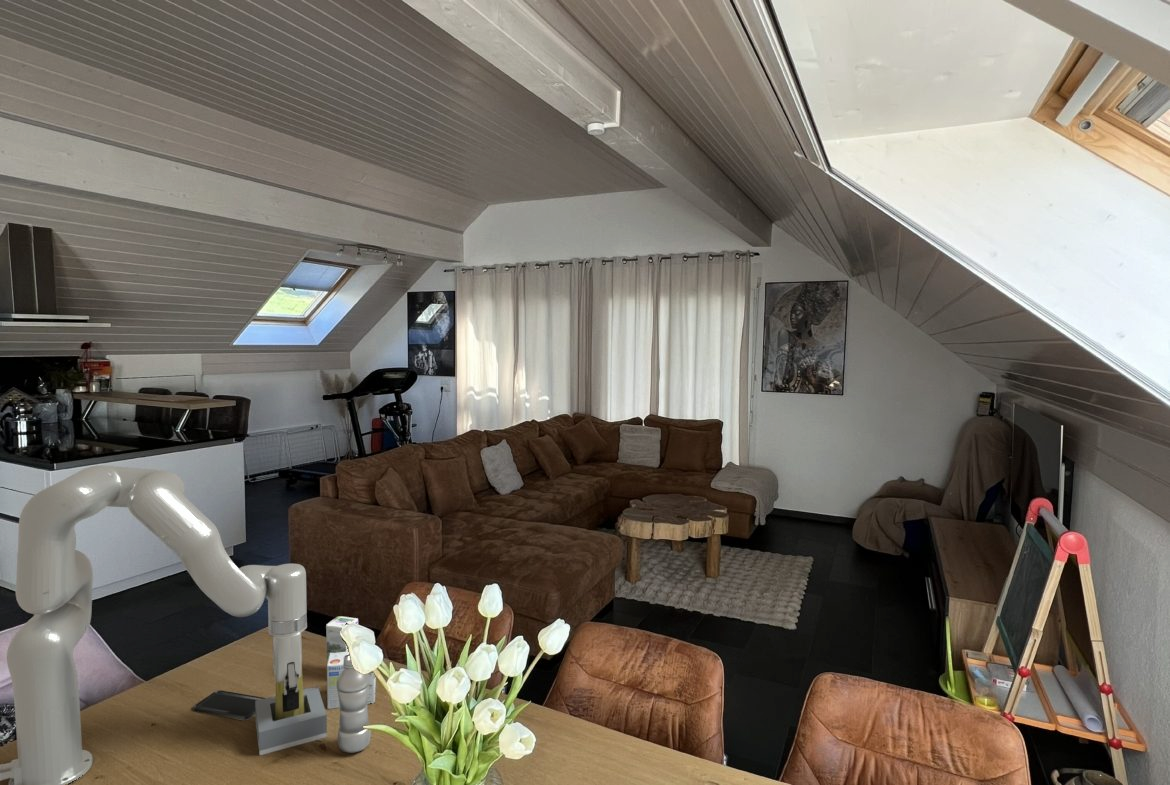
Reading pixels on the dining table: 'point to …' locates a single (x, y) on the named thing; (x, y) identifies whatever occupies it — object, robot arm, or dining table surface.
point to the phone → (228, 705)
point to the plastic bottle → (353, 708)
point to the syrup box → (336, 635)
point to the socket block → (290, 723)
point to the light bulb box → (332, 675)
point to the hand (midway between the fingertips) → (289, 701)
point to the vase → (279, 706)
